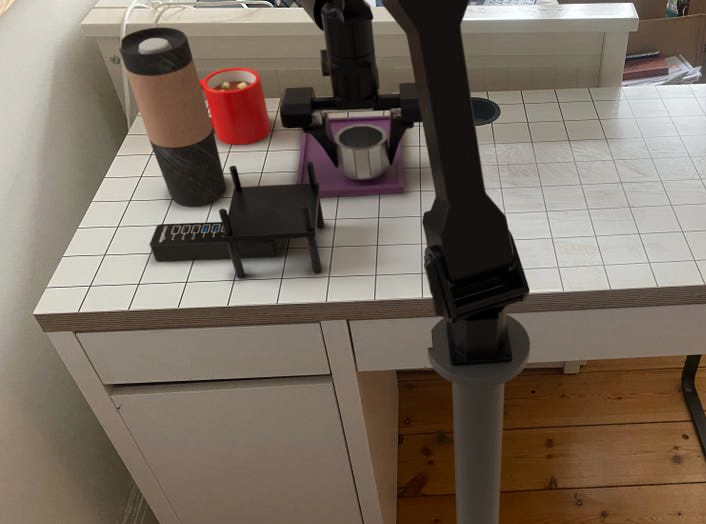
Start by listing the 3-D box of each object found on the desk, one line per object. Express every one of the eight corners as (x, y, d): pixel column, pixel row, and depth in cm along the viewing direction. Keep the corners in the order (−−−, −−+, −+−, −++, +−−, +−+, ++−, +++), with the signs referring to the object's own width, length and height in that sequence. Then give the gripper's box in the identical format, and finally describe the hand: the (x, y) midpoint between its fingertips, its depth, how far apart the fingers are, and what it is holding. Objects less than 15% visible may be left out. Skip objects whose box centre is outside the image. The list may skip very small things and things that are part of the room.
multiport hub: (277, 256, 90) (274, 241, 88) (154, 261, 89) (148, 245, 87) (282, 234, 93) (278, 219, 91) (162, 239, 92) (157, 223, 90)
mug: (196, 117, 114) (181, 66, 108) (275, 118, 114) (265, 67, 108) (181, 144, 108) (165, 92, 102) (265, 144, 108) (253, 92, 102)
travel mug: (240, 186, 100) (201, 36, 86) (197, 214, 96) (148, 60, 82) (200, 170, 103) (155, 21, 89) (156, 196, 99) (102, 44, 84)
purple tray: (403, 193, 100) (403, 186, 99) (296, 199, 98) (295, 191, 98) (399, 121, 113) (398, 114, 112) (305, 125, 112) (304, 119, 111)
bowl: (390, 180, 99) (387, 148, 96) (338, 182, 99) (333, 151, 95) (389, 153, 104) (386, 122, 101) (339, 156, 103) (335, 125, 100)
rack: (322, 274, 88) (310, 208, 81) (235, 279, 87) (216, 214, 80) (325, 224, 95) (314, 160, 88) (245, 228, 94) (228, 164, 87)
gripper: (425, 19, 96) (430, 131, 107) (277, 25, 95) (297, 137, 106) (430, 56, 88) (435, 173, 99) (268, 63, 87) (292, 180, 98)
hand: (364, 164), depth 101 cm, fingers closed on bowl, 7 cm apart
